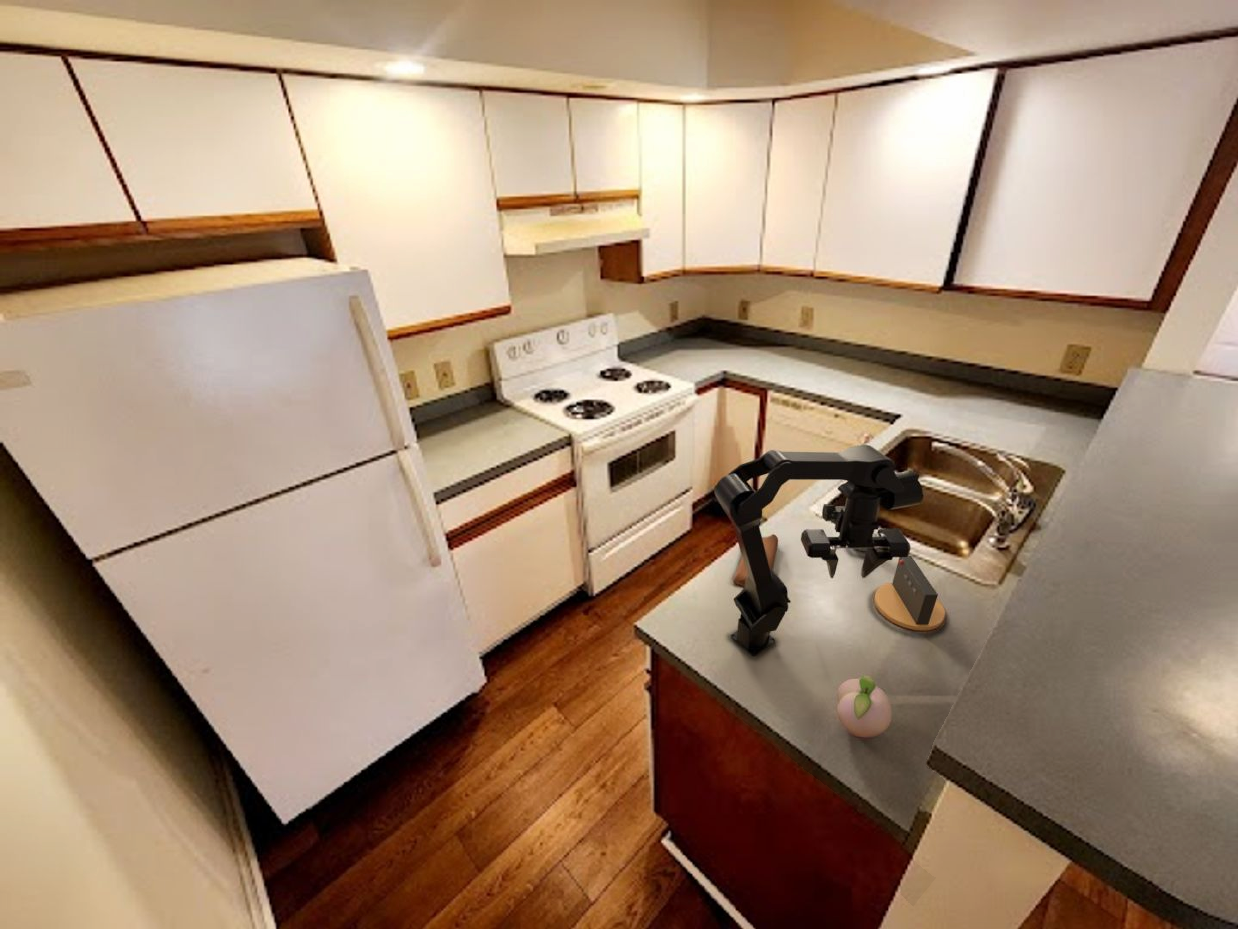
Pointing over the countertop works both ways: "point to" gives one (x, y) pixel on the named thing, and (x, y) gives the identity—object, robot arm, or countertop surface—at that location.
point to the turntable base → (904, 627)
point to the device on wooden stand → (910, 598)
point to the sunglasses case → (770, 549)
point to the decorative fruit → (863, 707)
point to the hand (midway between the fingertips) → (846, 576)
